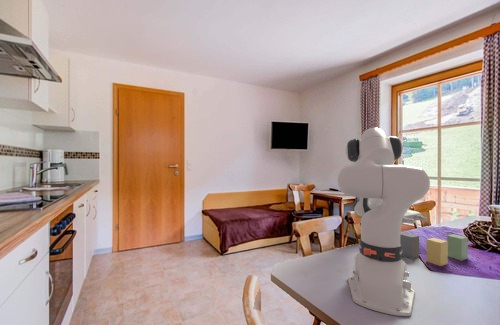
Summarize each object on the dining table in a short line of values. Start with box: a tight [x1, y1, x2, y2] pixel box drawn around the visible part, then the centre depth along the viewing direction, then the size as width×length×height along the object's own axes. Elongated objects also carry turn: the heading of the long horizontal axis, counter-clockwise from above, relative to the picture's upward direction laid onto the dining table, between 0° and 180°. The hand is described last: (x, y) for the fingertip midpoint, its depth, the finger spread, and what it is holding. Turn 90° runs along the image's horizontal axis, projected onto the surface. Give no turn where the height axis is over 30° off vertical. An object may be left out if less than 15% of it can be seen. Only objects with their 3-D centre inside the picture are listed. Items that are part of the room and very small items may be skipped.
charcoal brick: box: [400, 232, 420, 260], centre depth 103 cm, size 5×5×9 cm
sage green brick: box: [446, 233, 469, 262], centre depth 102 cm, size 5×5×9 cm
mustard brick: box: [426, 237, 449, 267], centre depth 96 cm, size 5×5×9 cm
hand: (420, 220), depth 114 cm, fingers open, 8 cm apart
